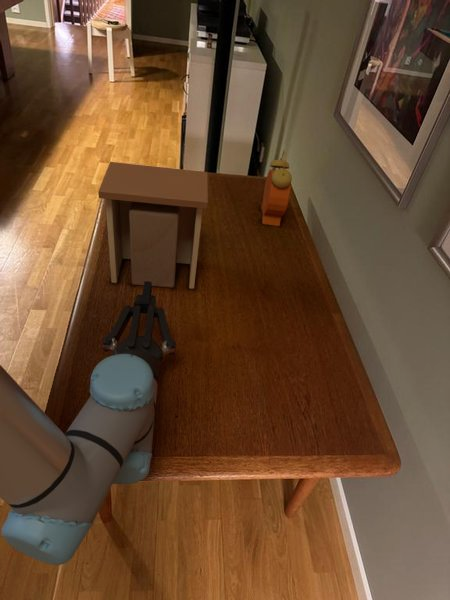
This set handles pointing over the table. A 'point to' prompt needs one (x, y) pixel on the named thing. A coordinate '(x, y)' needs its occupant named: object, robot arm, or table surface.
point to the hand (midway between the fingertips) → (148, 286)
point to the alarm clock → (276, 192)
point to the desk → (158, 190)
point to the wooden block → (153, 243)
